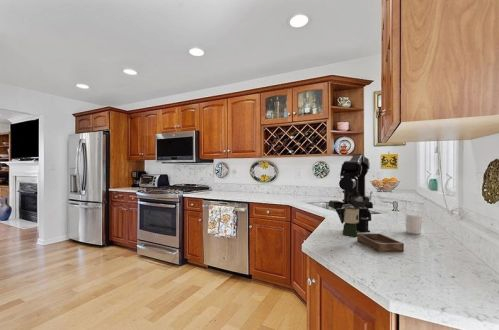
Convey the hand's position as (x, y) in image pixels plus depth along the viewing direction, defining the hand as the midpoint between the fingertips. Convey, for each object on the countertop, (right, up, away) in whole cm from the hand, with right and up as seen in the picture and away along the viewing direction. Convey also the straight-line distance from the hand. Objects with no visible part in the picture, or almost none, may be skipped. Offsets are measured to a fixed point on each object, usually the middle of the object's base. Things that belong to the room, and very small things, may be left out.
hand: (350, 223), depth 111 cm
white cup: (+46, -11, +26) cm, 54 cm away
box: (+13, -10, 0) cm, 16 cm away
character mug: (0, -6, 0) cm, 6 cm away
